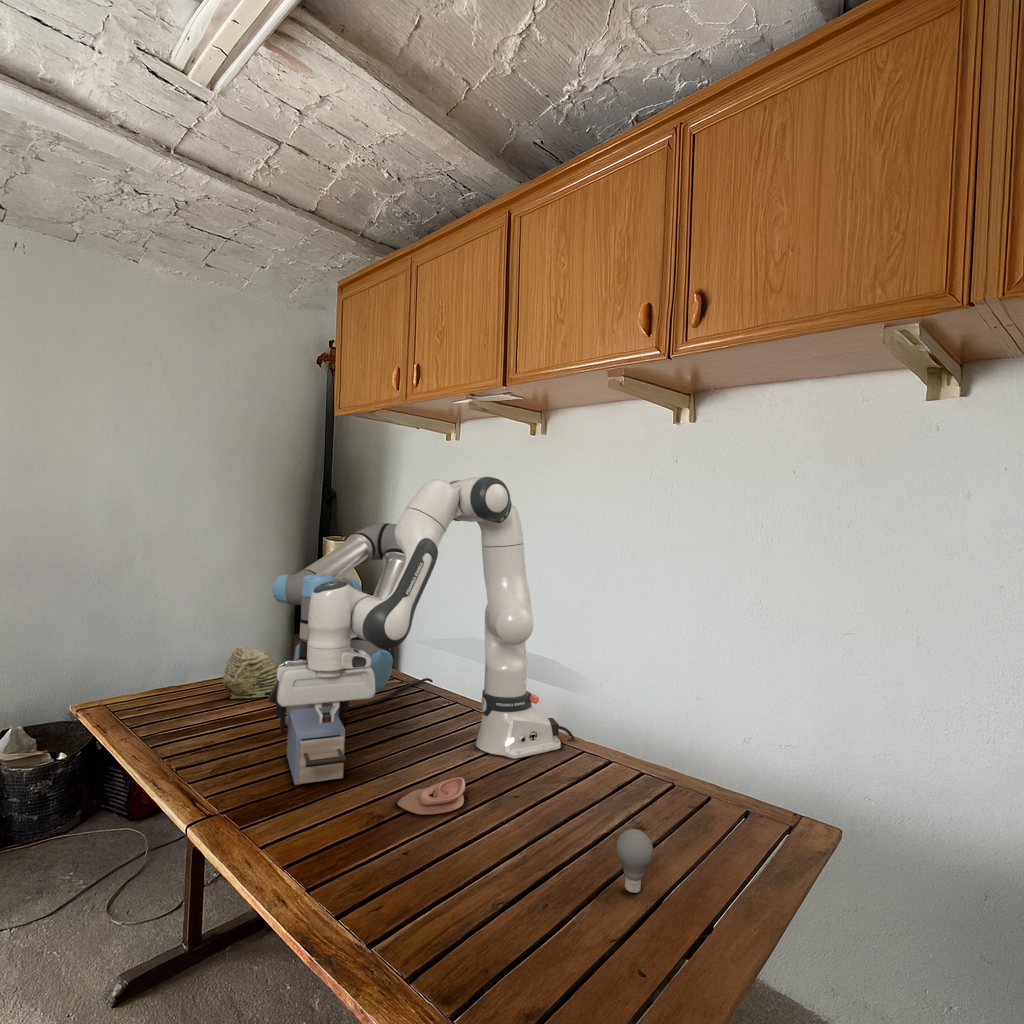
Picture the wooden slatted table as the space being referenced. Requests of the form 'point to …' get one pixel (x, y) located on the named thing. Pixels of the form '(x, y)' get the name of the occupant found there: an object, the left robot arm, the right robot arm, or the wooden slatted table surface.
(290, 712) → the cabinet
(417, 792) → the anatomical model
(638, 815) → the wooden slatted table surface
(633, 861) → the light bulb
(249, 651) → the fossil
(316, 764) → the drawer
